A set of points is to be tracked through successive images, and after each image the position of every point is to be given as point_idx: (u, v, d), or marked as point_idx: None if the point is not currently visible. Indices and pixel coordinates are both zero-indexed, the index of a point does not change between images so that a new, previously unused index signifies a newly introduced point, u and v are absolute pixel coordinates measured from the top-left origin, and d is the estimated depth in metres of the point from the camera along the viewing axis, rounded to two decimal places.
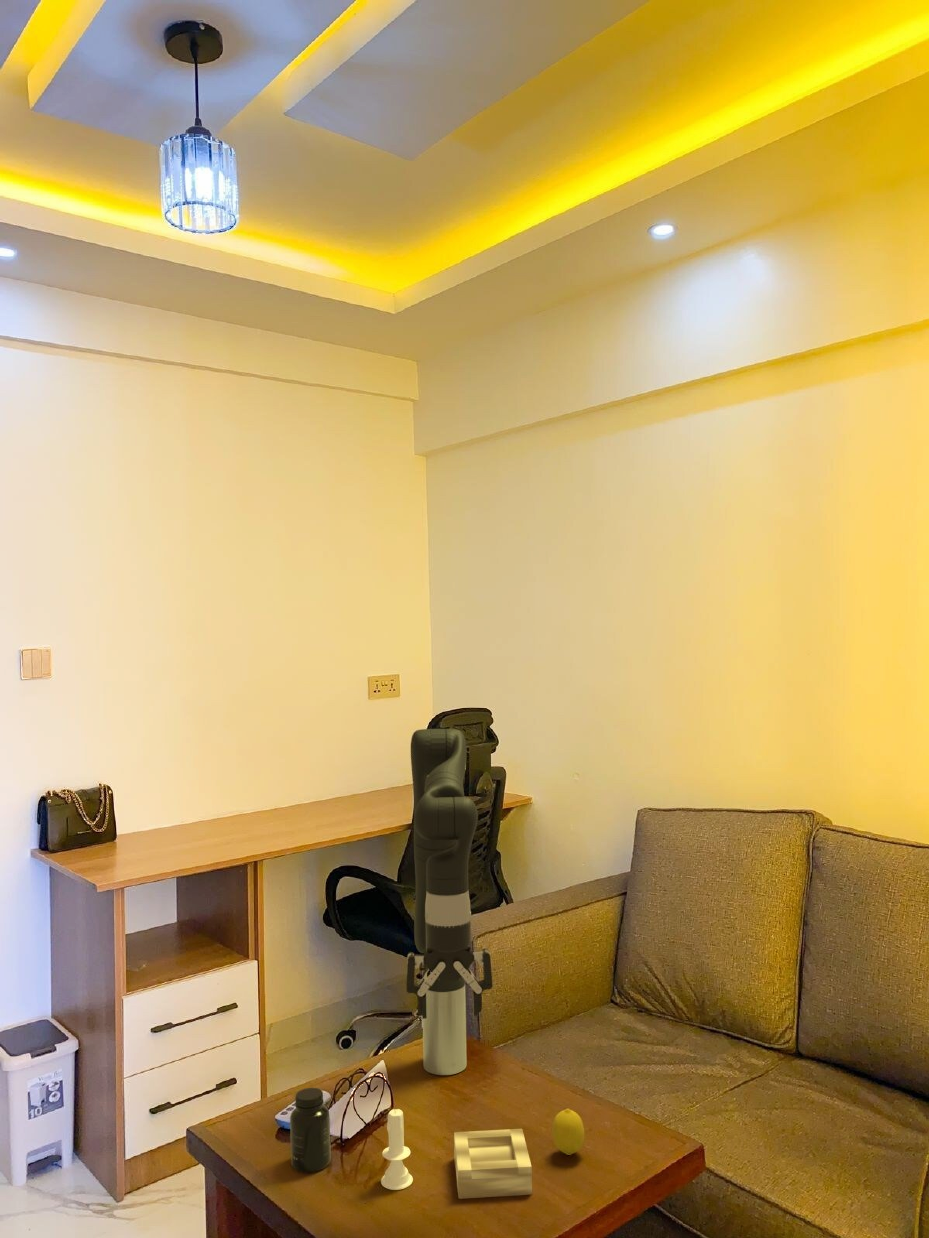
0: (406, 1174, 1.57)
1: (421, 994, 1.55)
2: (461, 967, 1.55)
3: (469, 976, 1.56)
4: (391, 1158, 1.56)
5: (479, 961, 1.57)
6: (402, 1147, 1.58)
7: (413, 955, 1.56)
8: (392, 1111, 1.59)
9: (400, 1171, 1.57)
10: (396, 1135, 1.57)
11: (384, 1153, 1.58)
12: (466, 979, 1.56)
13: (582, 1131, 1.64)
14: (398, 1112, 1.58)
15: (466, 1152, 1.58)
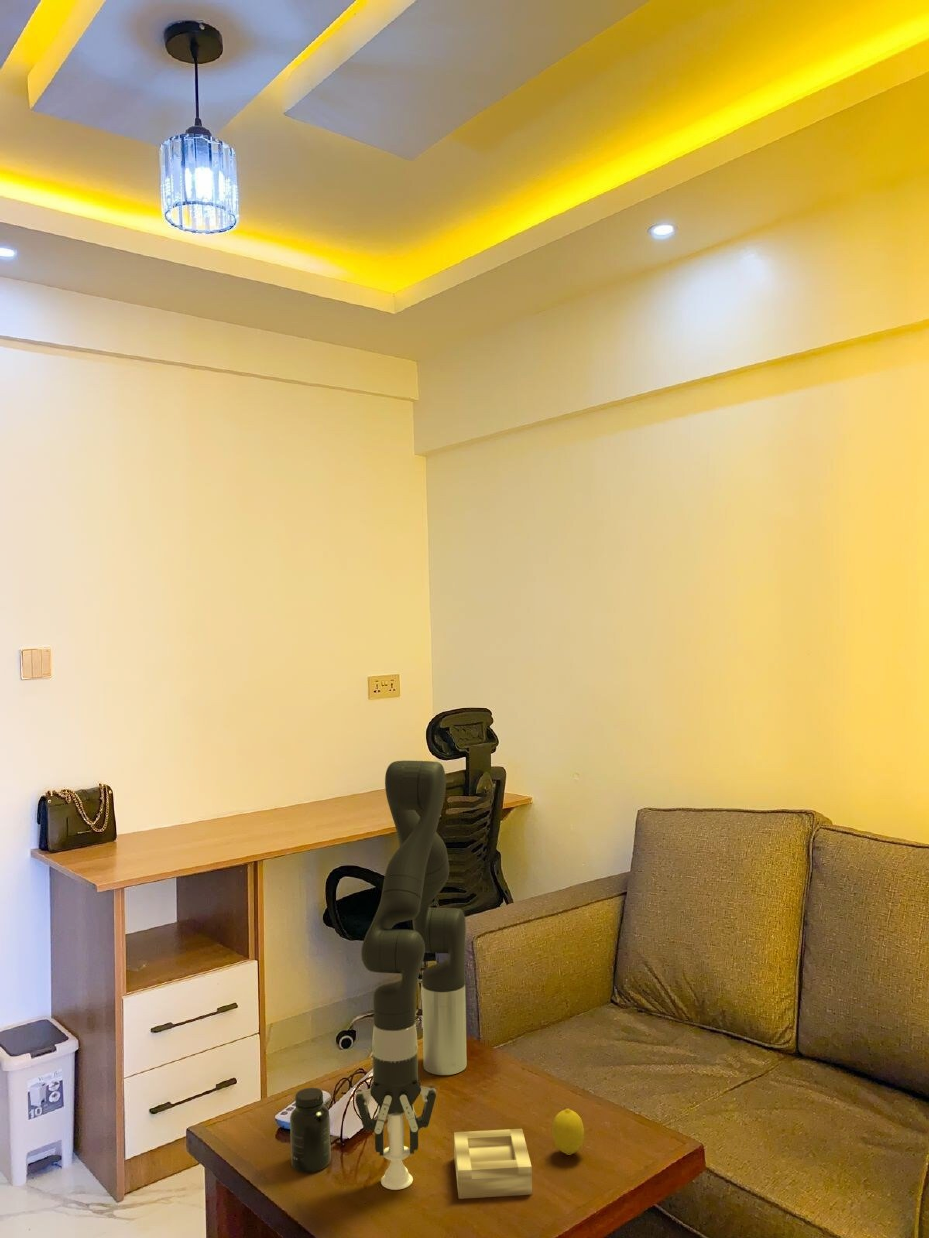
0: (406, 1174, 1.57)
1: (378, 1131, 1.57)
2: (406, 1101, 1.57)
3: (410, 1112, 1.57)
4: (391, 1158, 1.56)
5: (423, 1097, 1.58)
6: (402, 1147, 1.58)
7: (360, 1093, 1.58)
8: None
9: (400, 1171, 1.57)
10: (396, 1135, 1.57)
11: (384, 1153, 1.58)
12: (407, 1114, 1.57)
13: (582, 1131, 1.64)
14: (398, 1112, 1.58)
15: (466, 1152, 1.58)
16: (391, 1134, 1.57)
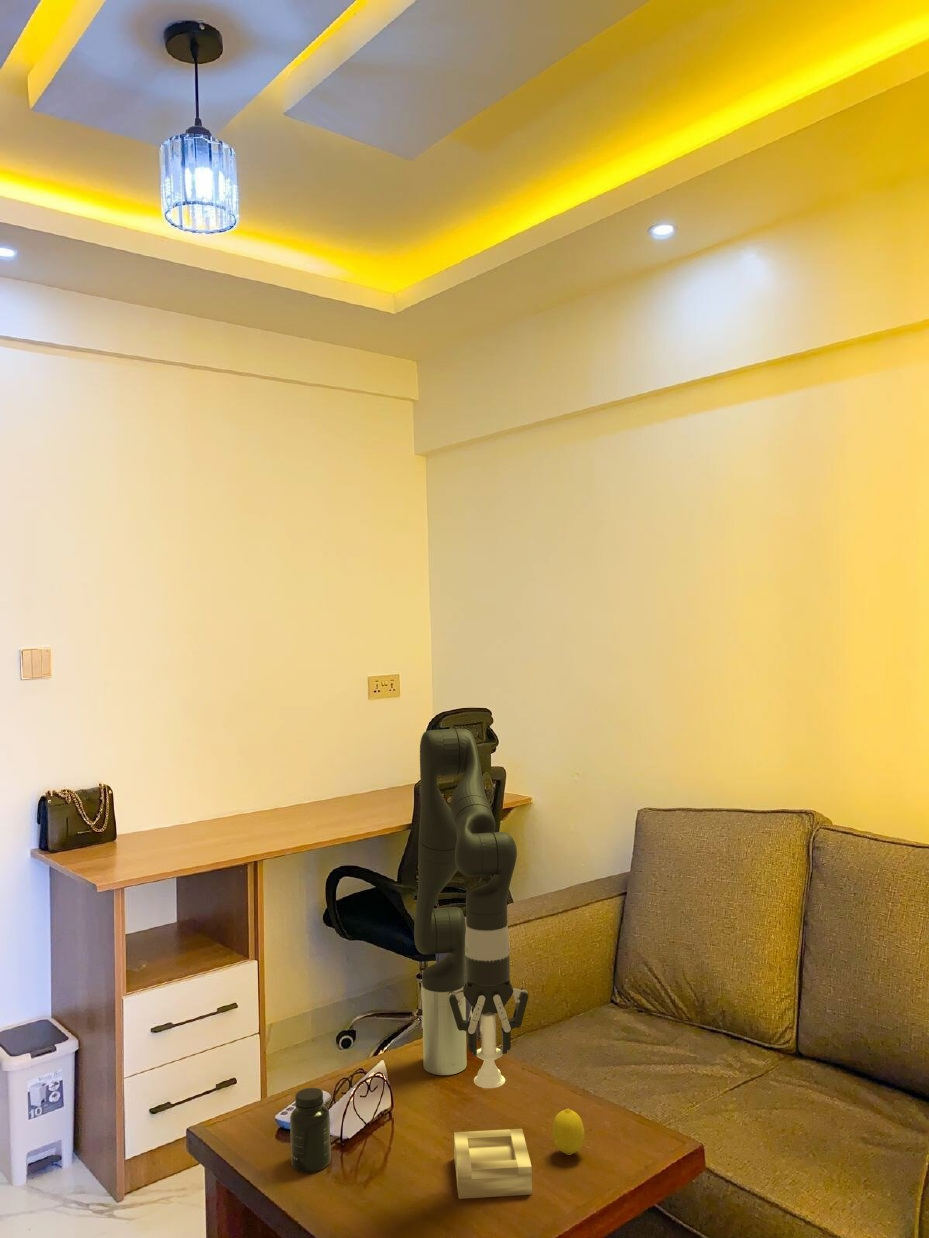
0: (499, 1074, 1.59)
1: (472, 1031, 1.58)
2: (499, 1002, 1.58)
3: (504, 1013, 1.58)
4: (485, 1057, 1.58)
5: (516, 998, 1.60)
6: (495, 1047, 1.59)
7: (453, 994, 1.59)
8: None
9: (493, 1071, 1.59)
10: (489, 1035, 1.59)
11: (477, 1053, 1.59)
12: (500, 1014, 1.58)
13: (582, 1131, 1.64)
14: (490, 1013, 1.60)
15: (466, 1152, 1.58)
16: (484, 1034, 1.59)
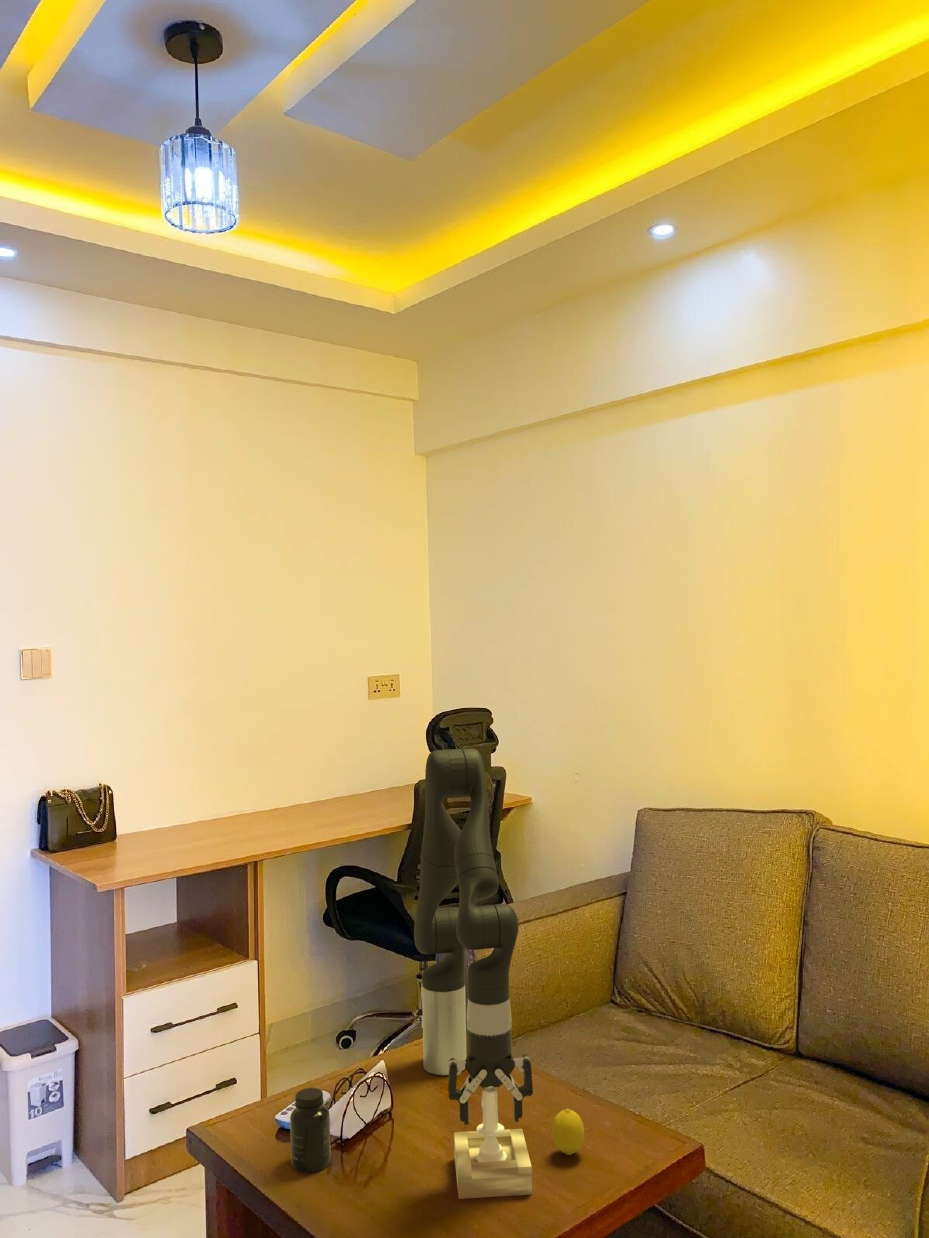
0: (501, 1150, 1.59)
1: (463, 1101, 1.58)
2: (502, 1074, 1.58)
3: (510, 1083, 1.58)
4: (486, 1134, 1.58)
5: (520, 1068, 1.59)
6: (496, 1123, 1.59)
7: (455, 1062, 1.59)
8: (486, 1088, 1.60)
9: (495, 1147, 1.58)
10: (491, 1111, 1.58)
11: (478, 1129, 1.59)
12: (507, 1086, 1.58)
13: (582, 1131, 1.64)
14: (492, 1089, 1.60)
15: (466, 1152, 1.58)
16: (486, 1110, 1.59)
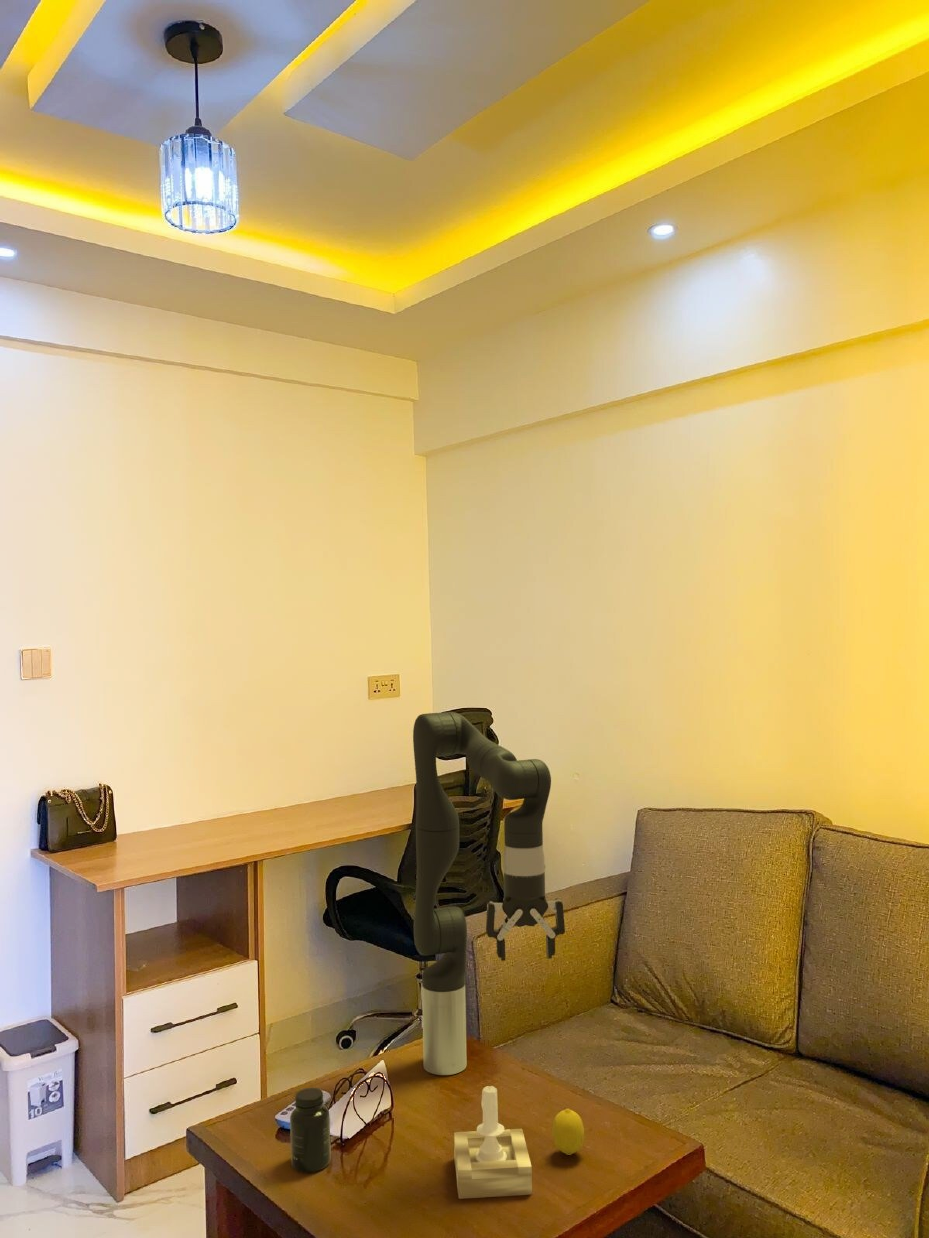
0: (501, 1150, 1.59)
1: (500, 938, 1.71)
2: (537, 914, 1.71)
3: (544, 922, 1.71)
4: (486, 1134, 1.58)
5: (552, 909, 1.73)
6: (496, 1123, 1.59)
7: (493, 903, 1.72)
8: (486, 1088, 1.60)
9: (495, 1147, 1.58)
10: (491, 1111, 1.58)
11: (478, 1129, 1.59)
12: (541, 925, 1.71)
13: (582, 1131, 1.64)
14: (492, 1089, 1.60)
15: (466, 1152, 1.58)
16: (486, 1110, 1.59)
